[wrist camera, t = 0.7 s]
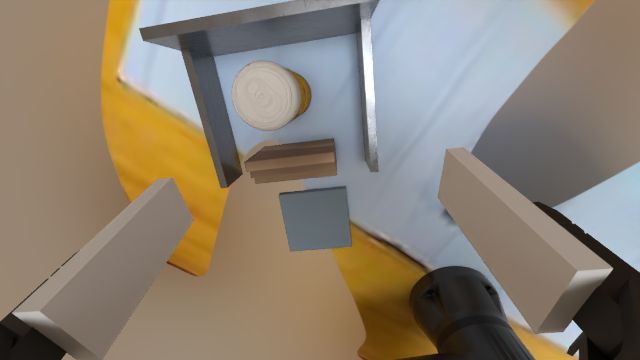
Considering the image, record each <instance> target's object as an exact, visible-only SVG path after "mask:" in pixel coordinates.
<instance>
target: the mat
mask: <svg viewBox="0 0 640 360" xmlns="http://www.w3.org/2000/svg"><path fill="white" fill-rule="evenodd" d="M279 199H280V205H281V209H282V214H283V219H284V224H285V229H286V234H287V238H288V243H289V248H290V251H303V250H316V249H328V248H342V247H352V244H351V234H350V224H349V215H348V205H347V195H346V186H343V187H333V188H324V189H314V190H304V191H294V192H284V193H280V194H279Z"/></svg>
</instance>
